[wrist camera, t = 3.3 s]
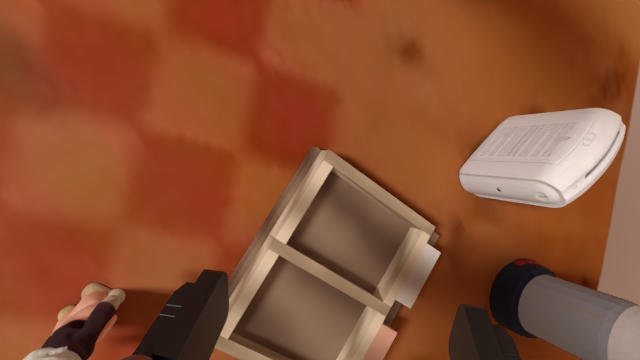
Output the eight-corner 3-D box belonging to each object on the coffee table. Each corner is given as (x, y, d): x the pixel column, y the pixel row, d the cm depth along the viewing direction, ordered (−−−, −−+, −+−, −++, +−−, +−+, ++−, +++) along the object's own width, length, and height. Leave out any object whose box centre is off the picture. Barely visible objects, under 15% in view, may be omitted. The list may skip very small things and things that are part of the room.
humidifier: (524, 246, 45) (897, 344, 22) (550, 297, 47) (915, 435, 24) (478, 291, 43) (837, 452, 20) (507, 342, 45) (862, 542, 22)
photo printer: (471, 202, 42) (584, 220, 30) (450, 173, 41) (560, 181, 29) (524, 139, 44) (648, 134, 33) (506, 111, 43) (629, 95, 31)
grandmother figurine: (84, 359, 29) (23, 499, 17) (35, 336, 28) (-67, 470, 16) (148, 275, 31) (132, 351, 19) (104, 250, 29) (57, 314, 17)
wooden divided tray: (311, 147, 35) (325, 146, 32) (430, 232, 40) (452, 239, 37) (200, 324, 32) (203, 343, 29) (343, 389, 38) (359, 412, 34)
